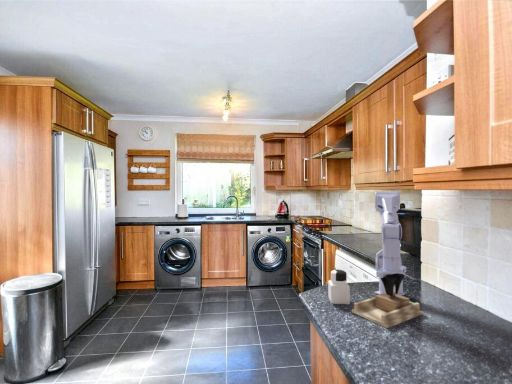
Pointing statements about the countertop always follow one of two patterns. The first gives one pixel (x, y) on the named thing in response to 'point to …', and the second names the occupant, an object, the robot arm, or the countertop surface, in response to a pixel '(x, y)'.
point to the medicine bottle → (338, 288)
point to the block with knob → (391, 301)
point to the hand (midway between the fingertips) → (391, 294)
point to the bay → (386, 313)
